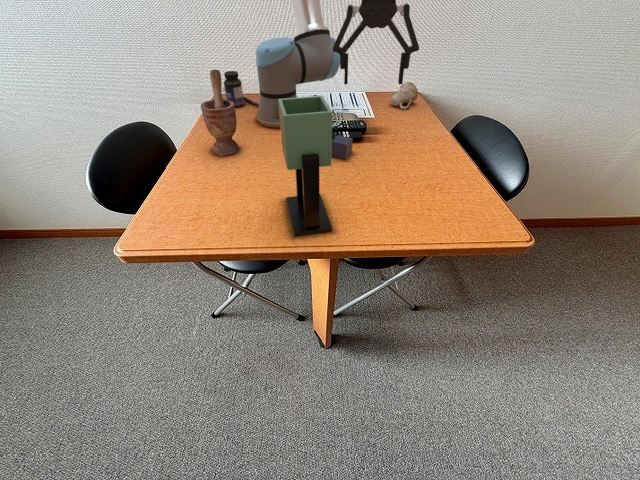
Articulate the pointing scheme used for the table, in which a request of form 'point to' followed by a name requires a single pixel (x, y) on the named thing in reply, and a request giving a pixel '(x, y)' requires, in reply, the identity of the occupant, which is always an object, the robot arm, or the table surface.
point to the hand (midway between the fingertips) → (372, 83)
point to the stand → (308, 200)
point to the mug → (405, 95)
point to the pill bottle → (233, 88)
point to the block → (342, 147)
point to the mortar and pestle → (220, 118)
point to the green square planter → (305, 130)
